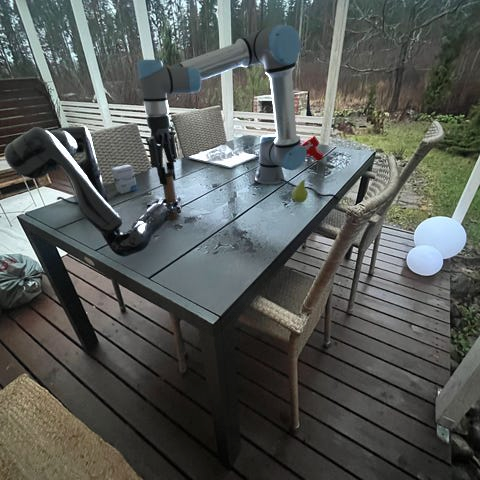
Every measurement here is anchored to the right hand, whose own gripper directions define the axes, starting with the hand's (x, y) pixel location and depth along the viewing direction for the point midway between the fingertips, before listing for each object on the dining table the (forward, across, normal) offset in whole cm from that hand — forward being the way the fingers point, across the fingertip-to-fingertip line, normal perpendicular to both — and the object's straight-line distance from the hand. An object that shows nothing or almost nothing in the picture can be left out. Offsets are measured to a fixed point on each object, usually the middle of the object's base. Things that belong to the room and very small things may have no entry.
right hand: (168, 181), depth 103 cm
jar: (+15, 0, 0) cm, 15 cm away
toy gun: (+15, -96, +36) cm, 104 cm away
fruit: (+15, -32, +45) cm, 57 cm away
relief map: (+15, -82, -16) cm, 85 cm away
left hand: (+8, -3, 0) cm, 9 cm away
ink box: (+15, -15, -36) cm, 42 cm away
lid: (-4, 0, 0) cm, 4 cm away
